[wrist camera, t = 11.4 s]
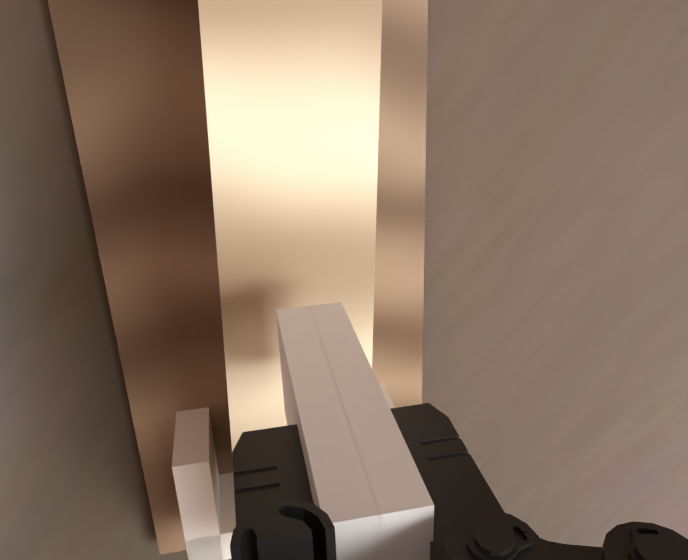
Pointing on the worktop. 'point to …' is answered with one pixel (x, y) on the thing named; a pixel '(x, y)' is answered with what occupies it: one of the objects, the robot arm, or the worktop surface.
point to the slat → (289, 176)
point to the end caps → (205, 486)
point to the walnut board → (198, 214)
